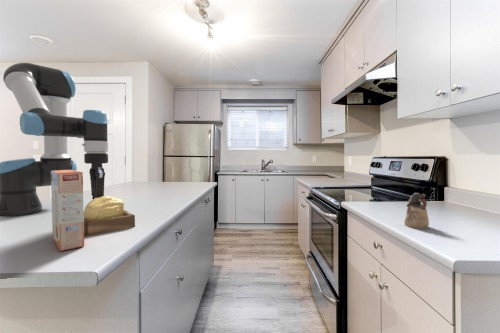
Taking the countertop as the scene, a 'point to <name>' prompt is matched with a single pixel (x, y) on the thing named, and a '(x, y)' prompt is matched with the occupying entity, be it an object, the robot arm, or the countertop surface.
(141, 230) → the countertop surface
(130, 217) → the frame
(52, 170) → the robot arm
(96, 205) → the sculpture
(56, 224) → the cracker box
